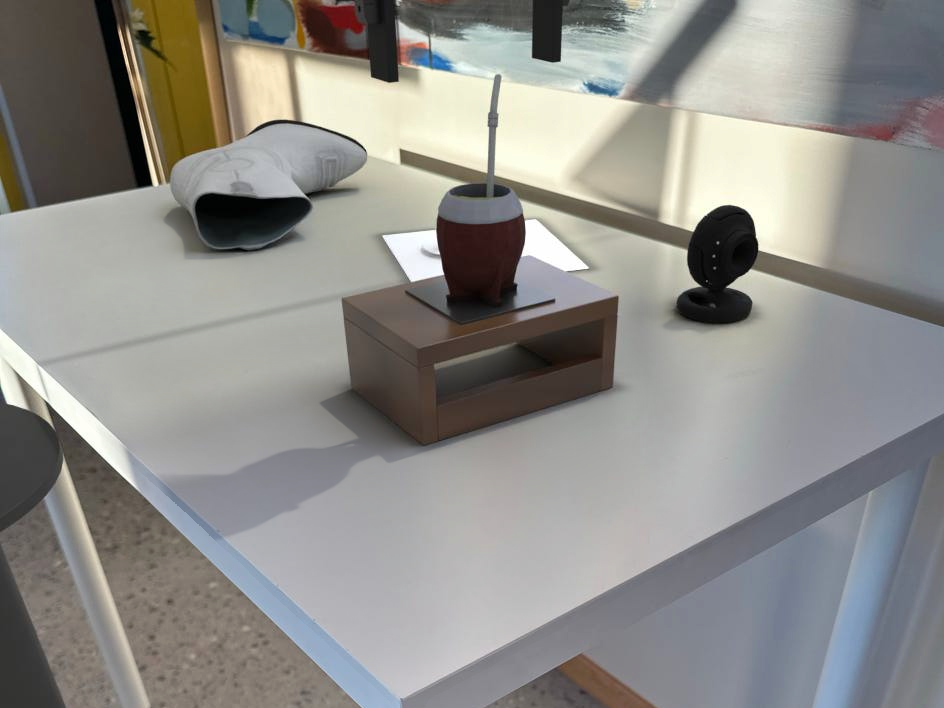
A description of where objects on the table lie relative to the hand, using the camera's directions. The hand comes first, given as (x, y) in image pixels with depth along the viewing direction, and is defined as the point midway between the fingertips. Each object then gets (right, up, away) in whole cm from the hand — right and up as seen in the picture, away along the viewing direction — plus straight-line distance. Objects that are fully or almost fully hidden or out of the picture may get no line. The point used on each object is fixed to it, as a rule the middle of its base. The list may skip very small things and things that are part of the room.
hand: (468, 70), depth 70 cm
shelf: (+1, -19, +15) cm, 24 cm away
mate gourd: (+1, -13, +10) cm, 16 cm away
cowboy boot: (-24, +14, +57) cm, 64 cm away
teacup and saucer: (+1, +5, +45) cm, 45 cm away
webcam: (+24, -8, +28) cm, 38 cm away
